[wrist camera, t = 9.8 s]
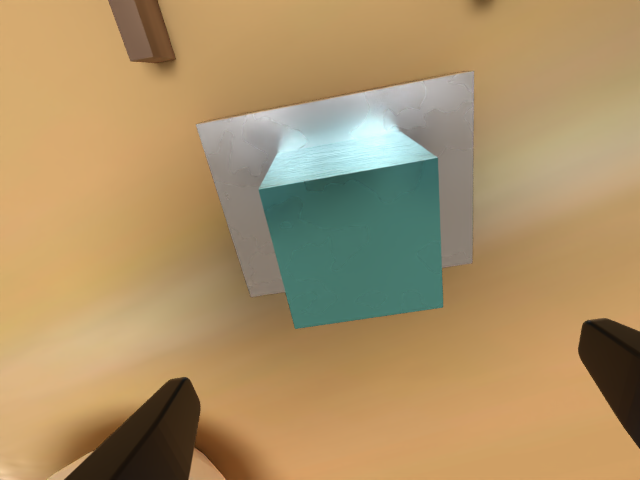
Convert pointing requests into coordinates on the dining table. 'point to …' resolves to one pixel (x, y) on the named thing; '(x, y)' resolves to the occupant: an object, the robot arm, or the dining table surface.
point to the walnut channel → (142, 30)
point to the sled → (350, 197)
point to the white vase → (201, 475)
